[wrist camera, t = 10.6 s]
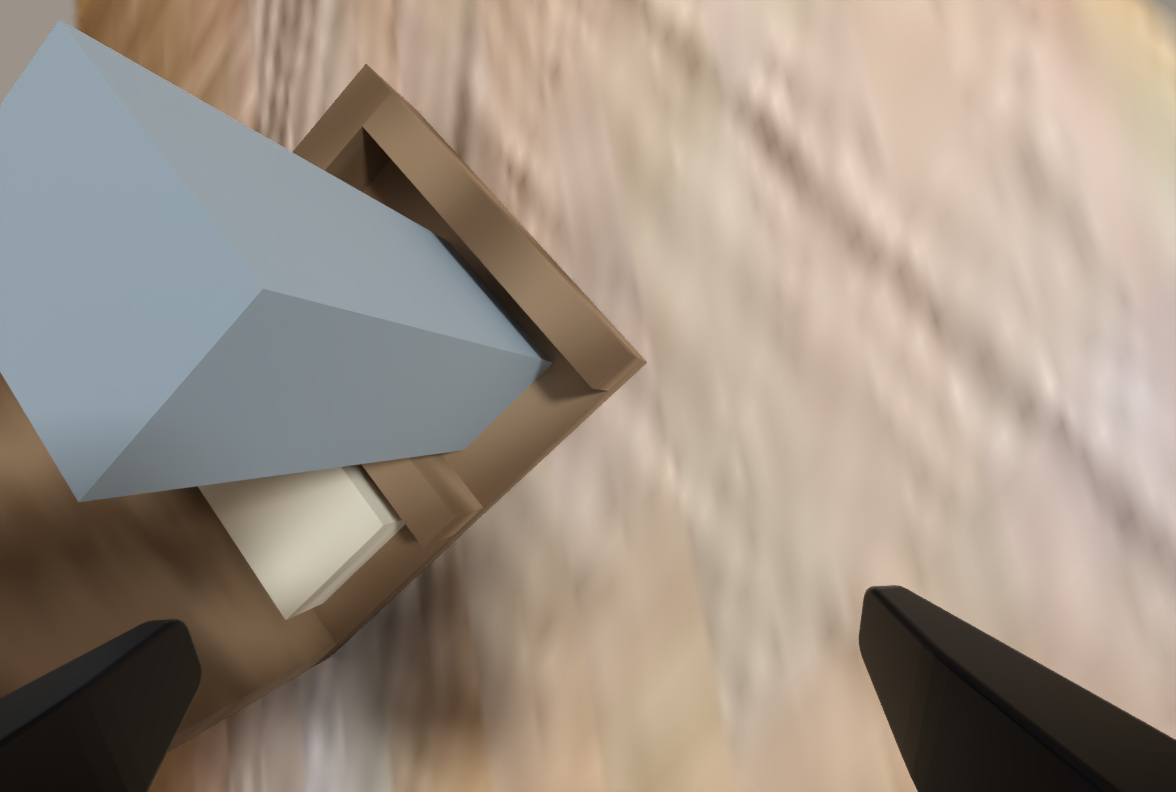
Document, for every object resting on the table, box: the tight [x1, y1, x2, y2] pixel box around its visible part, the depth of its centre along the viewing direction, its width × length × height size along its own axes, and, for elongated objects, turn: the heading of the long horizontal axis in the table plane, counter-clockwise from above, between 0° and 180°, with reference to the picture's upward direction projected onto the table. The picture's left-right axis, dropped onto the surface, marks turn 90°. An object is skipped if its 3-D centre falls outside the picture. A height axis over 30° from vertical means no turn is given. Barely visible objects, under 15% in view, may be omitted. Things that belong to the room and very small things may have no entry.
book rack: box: [0, 64, 647, 752], centre depth 17 cm, size 14×17×10 cm
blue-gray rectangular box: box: [0, 20, 554, 502], centre depth 14 cm, size 6×4×12 cm
